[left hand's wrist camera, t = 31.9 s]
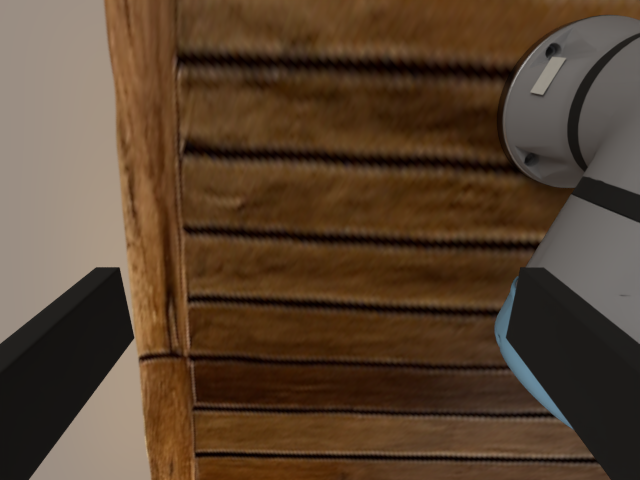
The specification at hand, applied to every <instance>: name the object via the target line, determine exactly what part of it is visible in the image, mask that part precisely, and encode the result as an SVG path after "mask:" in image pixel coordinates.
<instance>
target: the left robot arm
mask: <svg viewBox="0 0 640 480" xmlns="http://www.w3.org/2000/svg"><path fill="white" fill-rule="evenodd" d="M497 127H498V135H499V139H500V143H501V146H502V148H503V151H504V153H505V154H506V156H507V158H508V159H509V161H510V162H511V163H512V164H513V165H514V166H515V168H517V169H518V170H519V171H520V172H521V173H523V174H524V175H526V176H528V177H530V178H532V179H534V180H536V181H539V182H541V183H544V184H546V185H550V186H554V187H562V188H575V189H574V191H573V193H572V194H573V195H572V194H571V195H570V197H569V198H568V200H567V201H566V203H565V205H564V206H563V208H562V209H561V211H560V213H559V214H558V216H557V217H556V219H555V221H554V222H553V224H552V225H551V227H550V229H549V230H548V232H547V233H546V235H545V237H544V238H543V240H542V241H541V243H540V245H539V246H538V248H537V249H536V251H535V253H534V254H533V256H532V257H531V259H530V261H529V262H528V264H527V265H526V267H520V272H519V276H518V277H516V278H515V280H514V281H513V283H512V285H511V291H510V293H509V295H508V297H507V299H506V301H505V303H504V304H503V306H502V308H501V310H500V312H499V314H498V316H497V318H496V322H495V336H496V340H497V343H498V345H499V347H500V351H501V354H502V356H503V358H504V360H505V361H506V363H507V364H508V366H509V367H510V369H511V370H512V372H513V373H514V375H515V376H516V377H517V378H518V380H519V381H520V382H521V383H522V384H523V386H524V387H525V388H526V389H527V390H528V391H529V392H530V393H531V394H532V395H533V396H534V397H535V398H536V399H537V400H538V401H539V402H540V403H541V404H542V405H543V406H544V407H545V408H546V409H547V410H549V411H550V412H551V413H552V414H553V415H554V416H556V417H557V418H558V419H559V420H561V421H562V422H563V423H564V424H566V425H567V426H569V427H570V428H572V429H573V430H575V432H576V433H577V434H578V436H579V437H580V438H581V440H582V441H583V443H584V444H585V445H586V447H587V448H588V449H589V451H590V452H591V453H592V455H593V456H594V457H595V459H596V460H597V461H598V463H599V464H600V465H601V467H602V468H603V469H604V471H605V472H606V473H607V475H608V476H609V477H610V479H611V480H640V20H637V19H634V18H630V17H624V16H618V15H600V16H594V17H589V18H585V19H582V20H578V21H574V22H571V23H568V24H565V25H563V26H561V27H559V28H557V29H555V30H553V31H551V32H550V33H548V34H546V35H545V36H544V37H542V38H541V39H539V40H538V41H537V42H536V43H535V44H534V45H532V46H531V47H530V48H529V49H528V50H527V51H526V53H525V54H524V55H523V56H522V57H521V58H520V60H519V61H518V62H517V64H516V65H515V67H514V68H513V70H512V72H511V73H510V75H509V77H508V79H507V81H506V83H505V86H504V88H503V91H502V94H501V97H500V101H499V106H498V114H497ZM133 339H134V334H133V329H132V324H131V320H130V315H129V310H128V305H127V301H126V296H125V292H124V287H123V282H122V277H121V272H120V268H119V267H96V268H95V269H94V270H92V271H91V272H90V273H89V274H87V275H86V276H85V277H83V278H82V279H81V280H80V281H78V282H77V283H76V284H75V285H73V286H72V287H71V288H70V289H68V290H67V291H66V292H65V293H63V294H62V295H61V296H60V297H59V298H57V299H56V300H55V301H53V302H52V303H51V304H50V305H48V306H47V307H46V308H45V309H43V310H42V311H41V312H40V313H38V314H37V315H36V316H35V317H33V318H32V319H31V320H30V321H28V322H27V323H26V324H25V325H23V326H22V327H21V328H20V329H18V330H17V331H16V332H15V333H13V334H12V335H11V336H10V337H8V338H7V339H6V340H5V341H3V342H2V343H1V344H0V480H29V479H30V477H31V476H32V475H33V473H34V472H35V471H36V469H37V468H38V467H39V465H40V464H41V463H42V461H43V460H44V459H45V457H46V456H47V455H48V453H49V452H50V451H51V449H52V448H53V447H54V445H55V444H56V443H57V441H58V440H59V438H60V437H61V436H62V434H63V433H64V432H65V430H66V429H67V428H68V426H69V425H70V424H71V422H72V421H73V420H74V418H75V417H76V416H77V414H78V413H79V412H80V410H81V409H82V408H83V406H84V405H85V404H86V402H87V401H88V400H89V398H90V397H91V396H92V394H93V393H94V391H95V390H96V389H97V387H98V386H99V385H100V383H101V382H102V381H103V379H104V378H105V377H106V375H107V374H108V373H109V371H110V370H111V369H112V367H113V366H114V365H115V363H116V362H117V361H118V359H119V358H120V357H121V355H122V354H123V353H124V351H125V350H126V349H127V347H128V346H129V345H130V343H131V342H132V340H133Z"/></svg>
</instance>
